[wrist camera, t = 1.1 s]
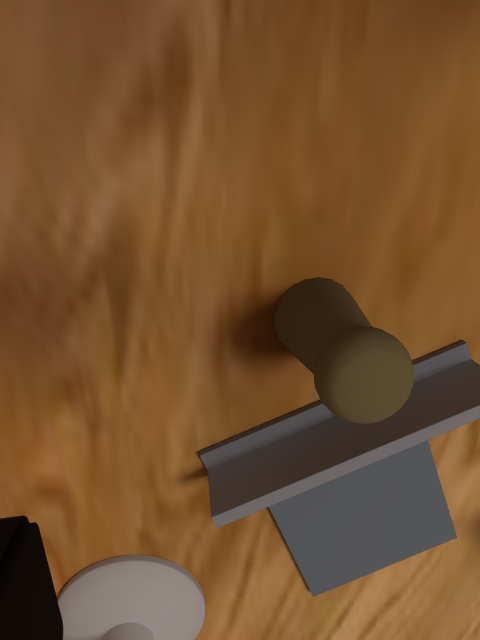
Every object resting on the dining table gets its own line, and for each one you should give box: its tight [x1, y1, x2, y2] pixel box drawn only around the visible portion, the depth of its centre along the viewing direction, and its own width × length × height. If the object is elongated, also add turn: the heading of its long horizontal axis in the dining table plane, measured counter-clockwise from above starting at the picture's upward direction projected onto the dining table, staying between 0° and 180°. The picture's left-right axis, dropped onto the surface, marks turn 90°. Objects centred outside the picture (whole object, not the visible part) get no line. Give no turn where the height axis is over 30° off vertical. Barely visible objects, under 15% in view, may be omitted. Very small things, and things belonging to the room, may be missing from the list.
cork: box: [274, 277, 414, 424], centre depth 28 cm, size 6×6×11 cm
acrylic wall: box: [199, 340, 480, 528], centre depth 33 cm, size 22×4×6 cm, turn 112°
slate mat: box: [269, 441, 457, 597], centre depth 39 cm, size 14×14×1 cm
